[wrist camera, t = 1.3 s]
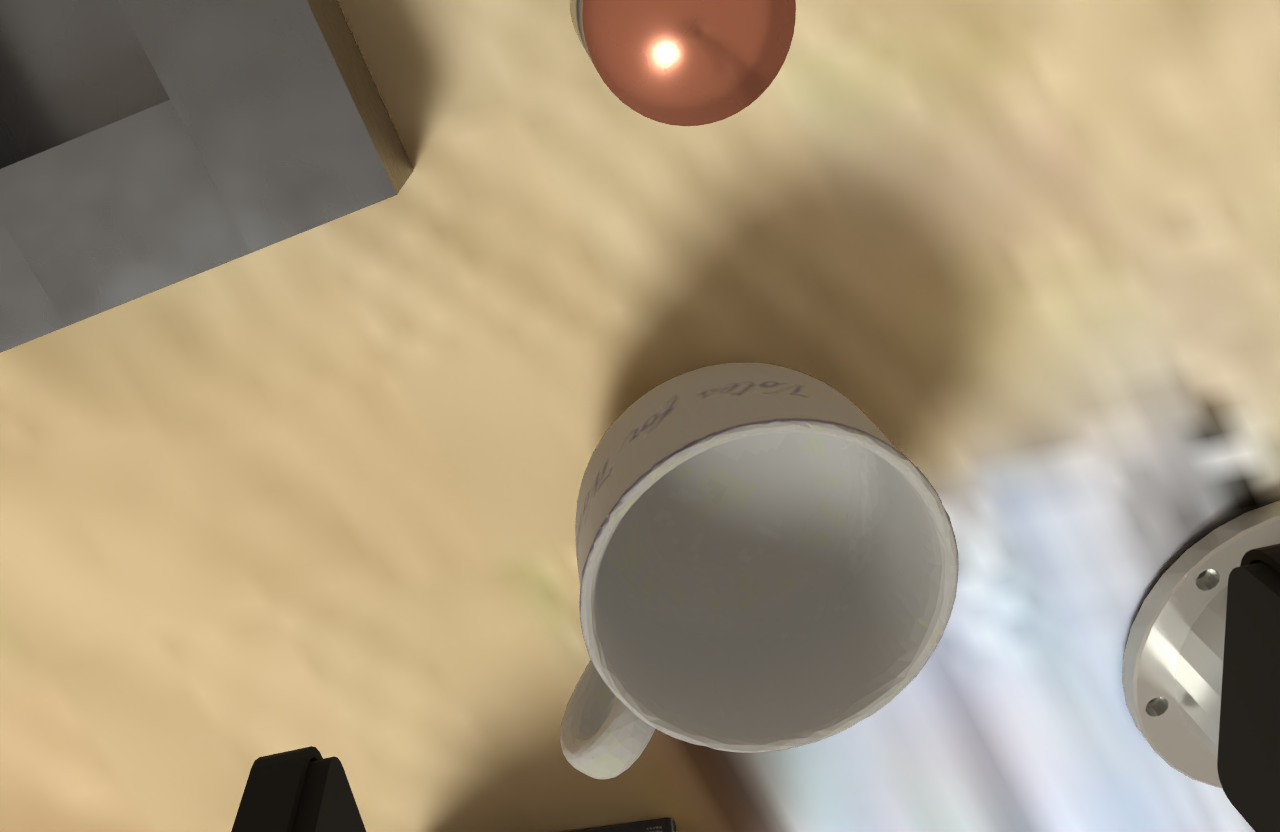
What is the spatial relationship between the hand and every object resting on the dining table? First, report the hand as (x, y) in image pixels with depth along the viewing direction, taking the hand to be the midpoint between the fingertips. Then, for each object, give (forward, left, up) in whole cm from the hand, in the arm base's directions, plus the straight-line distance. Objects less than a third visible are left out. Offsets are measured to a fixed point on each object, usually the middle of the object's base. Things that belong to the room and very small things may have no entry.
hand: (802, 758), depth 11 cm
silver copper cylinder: (-3, -6, -25) cm, 26 cm away
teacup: (+1, +10, -25) cm, 27 cm away
